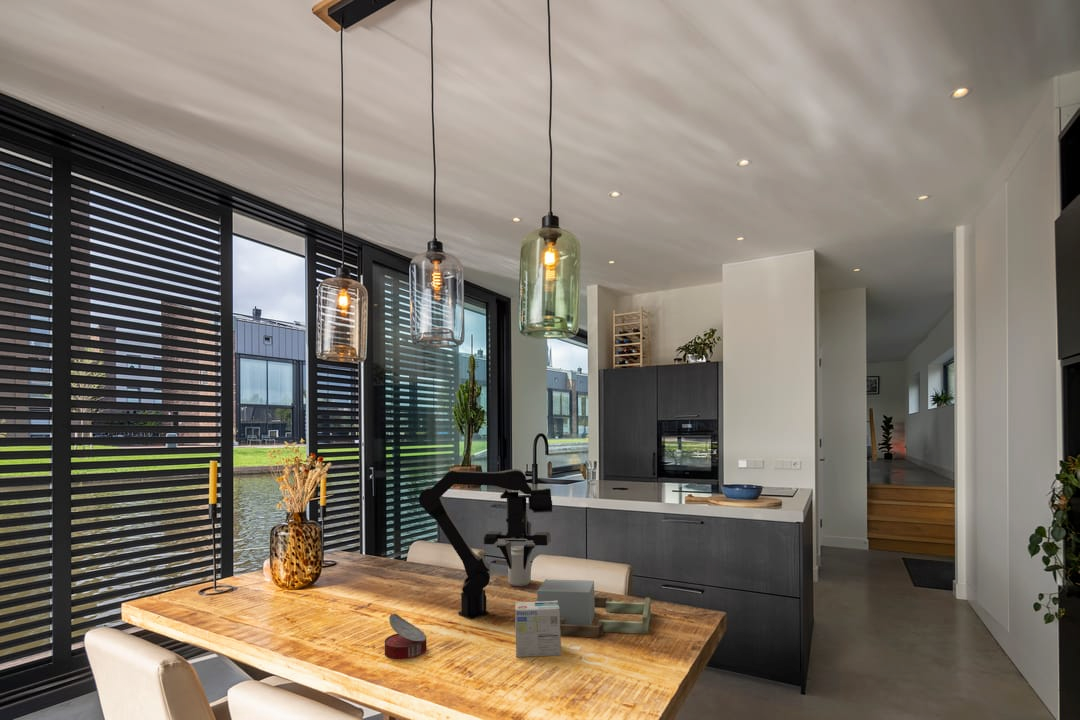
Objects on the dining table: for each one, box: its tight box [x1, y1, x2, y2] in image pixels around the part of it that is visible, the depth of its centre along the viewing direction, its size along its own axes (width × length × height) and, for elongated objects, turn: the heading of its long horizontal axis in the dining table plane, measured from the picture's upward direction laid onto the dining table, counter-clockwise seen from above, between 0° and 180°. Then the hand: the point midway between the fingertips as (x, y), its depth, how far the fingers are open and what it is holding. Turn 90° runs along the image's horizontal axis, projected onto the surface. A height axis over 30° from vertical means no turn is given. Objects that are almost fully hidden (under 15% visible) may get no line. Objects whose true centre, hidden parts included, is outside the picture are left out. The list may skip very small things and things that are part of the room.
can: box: [507, 545, 532, 587], centre depth 204 cm, size 8×8×12 cm
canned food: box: [384, 613, 427, 660], centre depth 146 cm, size 11×10×10 cm
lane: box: [560, 595, 652, 639], centre depth 165 cm, size 30×27×4 cm
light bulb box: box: [514, 601, 562, 658], centre depth 144 cm, size 11×7×11 cm, turn 92°
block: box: [536, 578, 596, 625], centre depth 167 cm, size 14×12×9 cm
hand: (517, 568), depth 174 cm, fingers open, 4 cm apart
